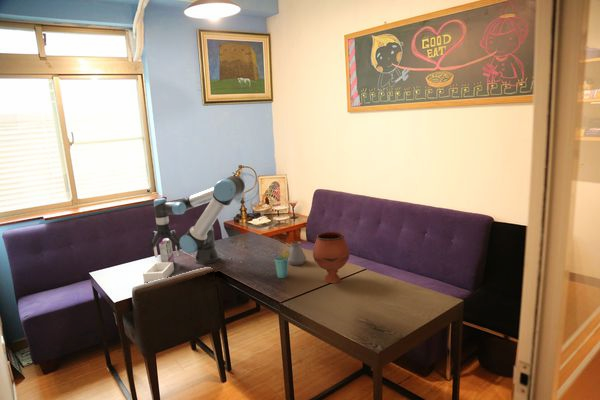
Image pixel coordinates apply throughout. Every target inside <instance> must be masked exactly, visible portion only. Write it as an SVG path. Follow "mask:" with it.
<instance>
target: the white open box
mask: <svg viewBox="0 0 600 400" xmlns="http://www.w3.org/2000/svg"><path fill="white" fill-rule="evenodd" d="M174 272H175V266H174V263H173V262H163V263H162V262H154V263H152V265H150V267H148V268H147V269H146V270H145V271H144V272H143V273H142V276H143V283H144V284H148V283H147V282H150V281H154V280H158V279H162V278H166V277H168V278H170V276H171V275H172V274H173V273H174Z"/></svg>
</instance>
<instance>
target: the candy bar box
mask: <svg viewBox="0 0 600 400" xmlns="http://www.w3.org/2000/svg"><path fill="white" fill-rule="evenodd" d="M158 248H159V253H160V260H161V263H163V262H173V264H175V258H174V257H175V256H174V250H173V242H172V241H171V240H170V239H169V238H162V240H161V241H160V242H159V243H158Z"/></svg>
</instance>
